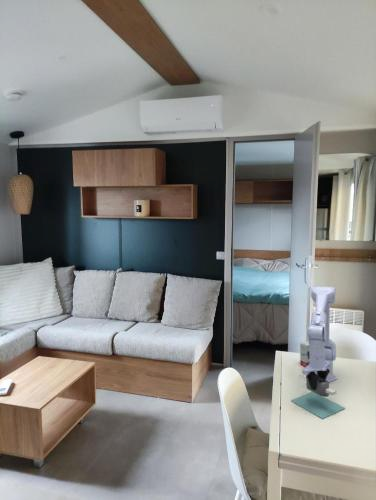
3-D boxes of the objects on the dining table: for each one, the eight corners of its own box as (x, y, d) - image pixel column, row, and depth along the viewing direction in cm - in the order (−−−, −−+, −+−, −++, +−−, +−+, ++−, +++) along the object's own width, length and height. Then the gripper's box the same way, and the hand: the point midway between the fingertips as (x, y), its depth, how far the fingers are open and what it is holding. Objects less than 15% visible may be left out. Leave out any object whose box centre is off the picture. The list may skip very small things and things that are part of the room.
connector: (304, 387, 149) (304, 375, 149) (311, 384, 151) (311, 373, 151) (330, 400, 138) (330, 388, 137) (337, 397, 140) (337, 385, 139)
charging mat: (290, 401, 150) (290, 400, 150) (312, 392, 157) (312, 391, 157) (322, 419, 136) (322, 418, 136) (345, 408, 143) (345, 407, 143)
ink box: (306, 368, 180) (306, 345, 179) (299, 364, 184) (299, 342, 183) (320, 364, 183) (319, 342, 182) (313, 361, 188) (312, 339, 187)
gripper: (312, 362, 137) (312, 396, 139) (337, 353, 144) (337, 386, 146) (298, 356, 143) (298, 389, 145) (323, 348, 150) (323, 379, 152)
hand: (317, 387), depth 146 cm, fingers closed on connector, 4 cm apart
